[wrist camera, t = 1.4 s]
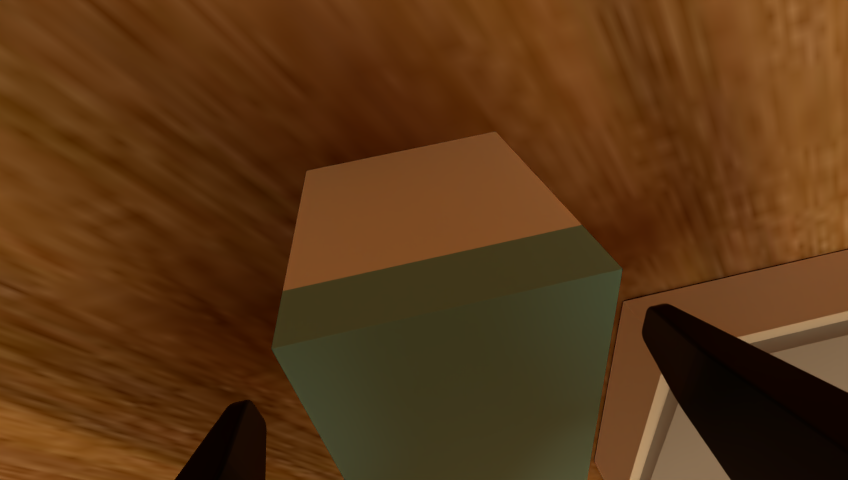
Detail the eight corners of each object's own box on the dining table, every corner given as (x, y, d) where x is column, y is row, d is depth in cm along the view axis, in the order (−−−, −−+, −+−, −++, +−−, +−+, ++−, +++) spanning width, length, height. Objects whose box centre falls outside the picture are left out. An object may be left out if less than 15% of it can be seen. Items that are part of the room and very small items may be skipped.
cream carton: (494, 130, 11) (622, 269, 6) (504, 316, 15) (584, 492, 10) (306, 169, 10) (270, 348, 5) (368, 347, 14) (380, 543, 9)
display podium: (920, 232, 16) (1029, 282, 13) (801, 409, 22) (857, 464, 20) (623, 301, 15) (677, 366, 13) (594, 461, 22) (625, 523, 19)
